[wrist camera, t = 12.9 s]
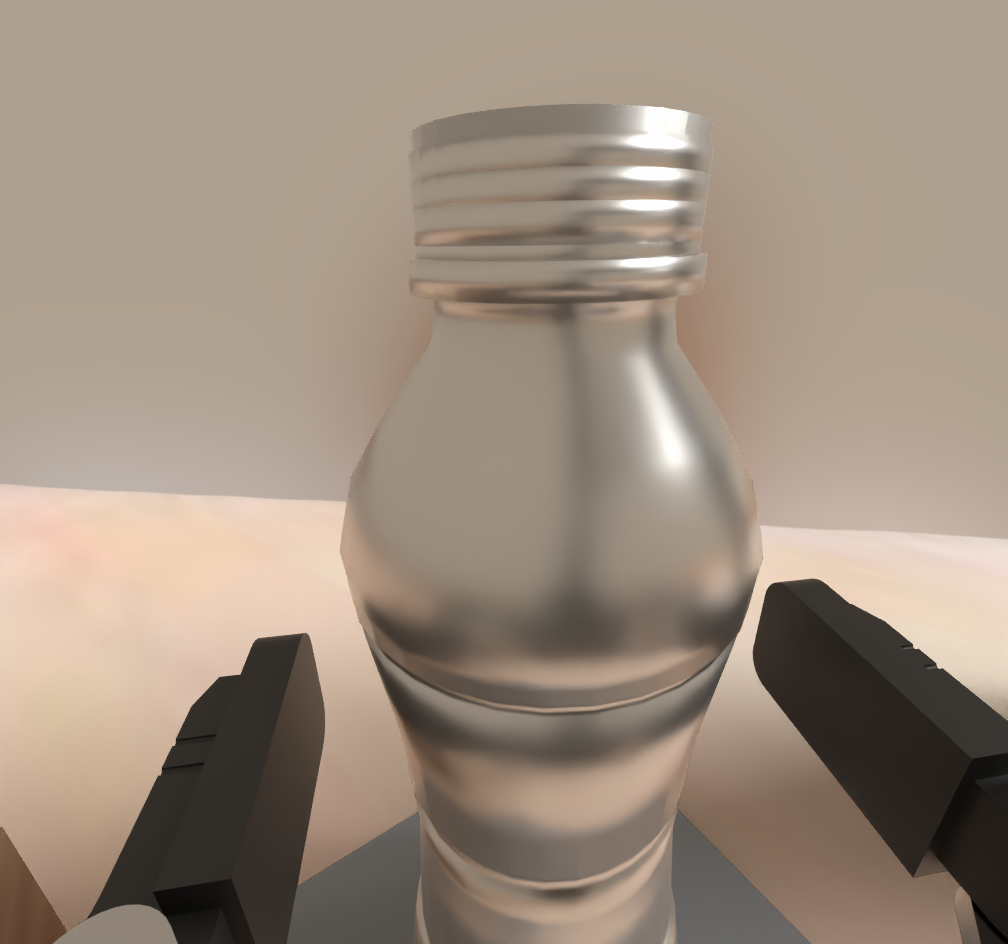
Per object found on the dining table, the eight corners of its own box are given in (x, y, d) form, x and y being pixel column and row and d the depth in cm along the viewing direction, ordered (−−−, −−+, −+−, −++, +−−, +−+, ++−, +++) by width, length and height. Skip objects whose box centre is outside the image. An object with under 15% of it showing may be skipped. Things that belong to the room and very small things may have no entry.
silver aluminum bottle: (721, 1081, 13) (1060, 88, 5) (449, 1236, 11) (225, 7, 3) (596, 825, 18) (652, 170, 10) (402, 898, 17) (281, 163, 8)
